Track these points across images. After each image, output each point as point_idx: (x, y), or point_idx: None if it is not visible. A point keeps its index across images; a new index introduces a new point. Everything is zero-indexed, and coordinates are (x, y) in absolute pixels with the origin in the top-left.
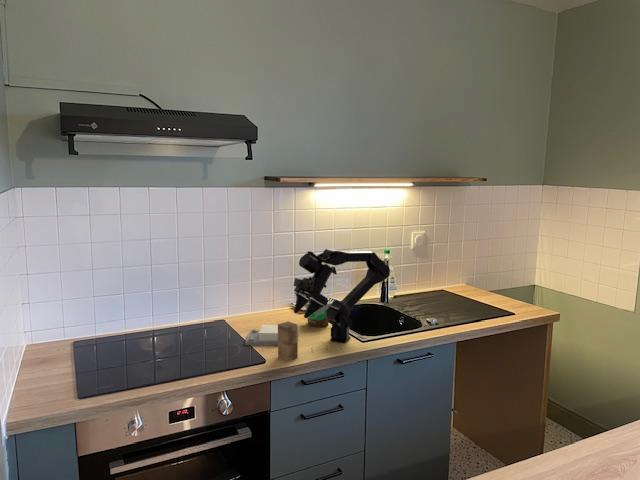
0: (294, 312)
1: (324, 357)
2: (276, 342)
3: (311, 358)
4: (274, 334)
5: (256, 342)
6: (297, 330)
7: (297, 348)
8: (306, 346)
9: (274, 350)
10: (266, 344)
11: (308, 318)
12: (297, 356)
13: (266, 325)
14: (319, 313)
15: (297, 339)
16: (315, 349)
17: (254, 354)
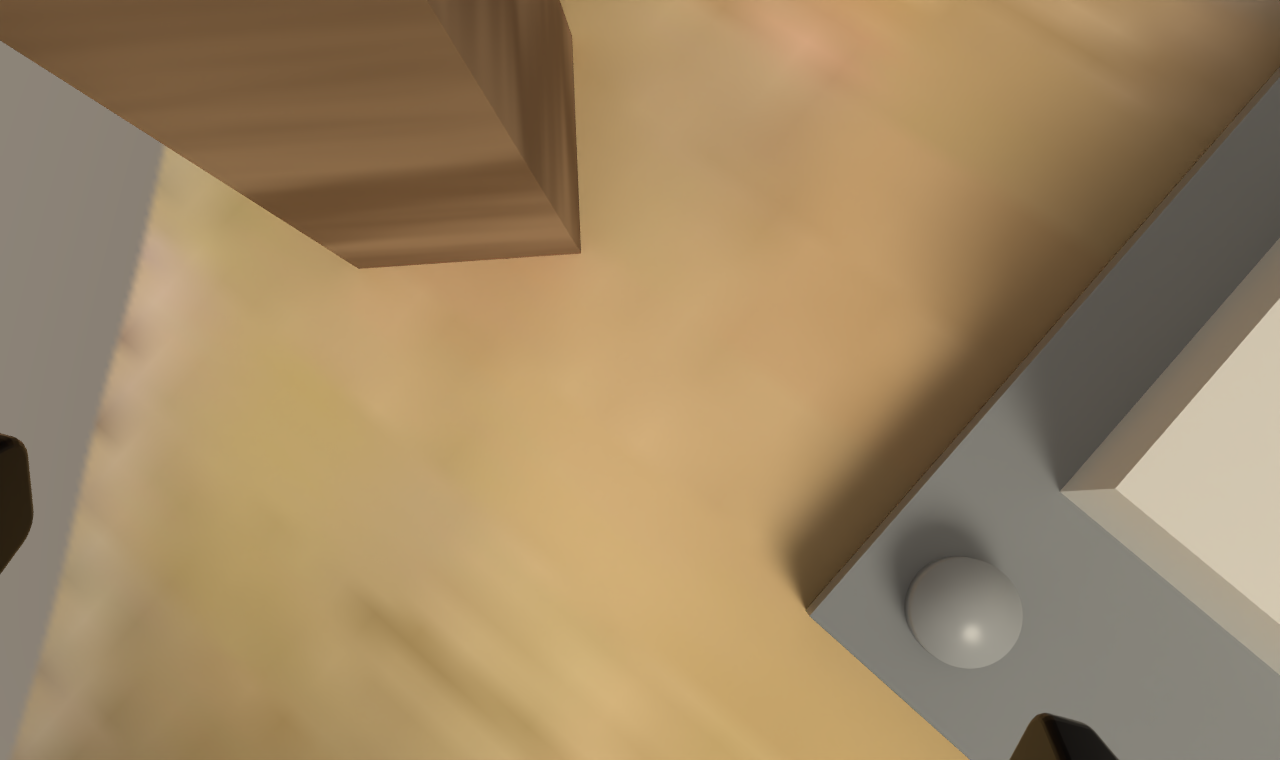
0: (1033, 719)
1: (77, 611)
2: (1075, 312)
3: (190, 421)
4: (1252, 318)
5: None
6: (66, 81)
7: (291, 222)
8: (656, 716)
9: (870, 159)
10: (1185, 180)
11: None
12: (351, 260)
13: None
14: None
15: (201, 165)
16: (436, 742)
17: None
